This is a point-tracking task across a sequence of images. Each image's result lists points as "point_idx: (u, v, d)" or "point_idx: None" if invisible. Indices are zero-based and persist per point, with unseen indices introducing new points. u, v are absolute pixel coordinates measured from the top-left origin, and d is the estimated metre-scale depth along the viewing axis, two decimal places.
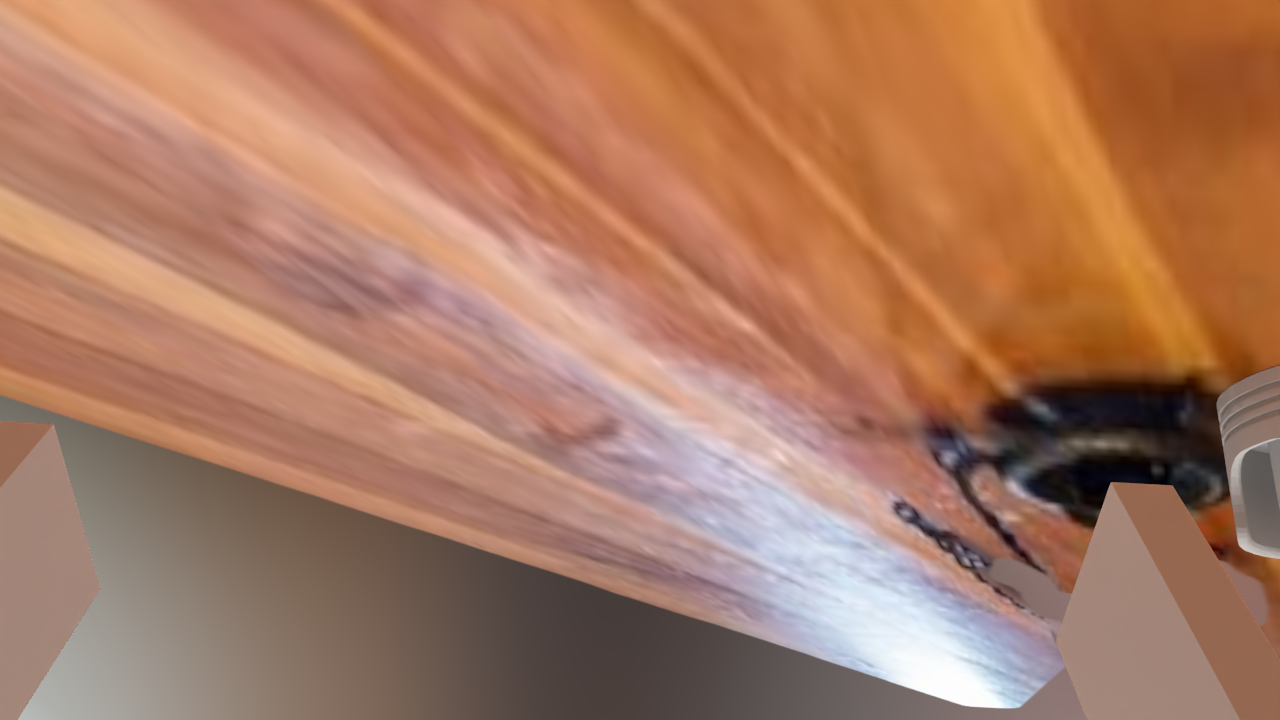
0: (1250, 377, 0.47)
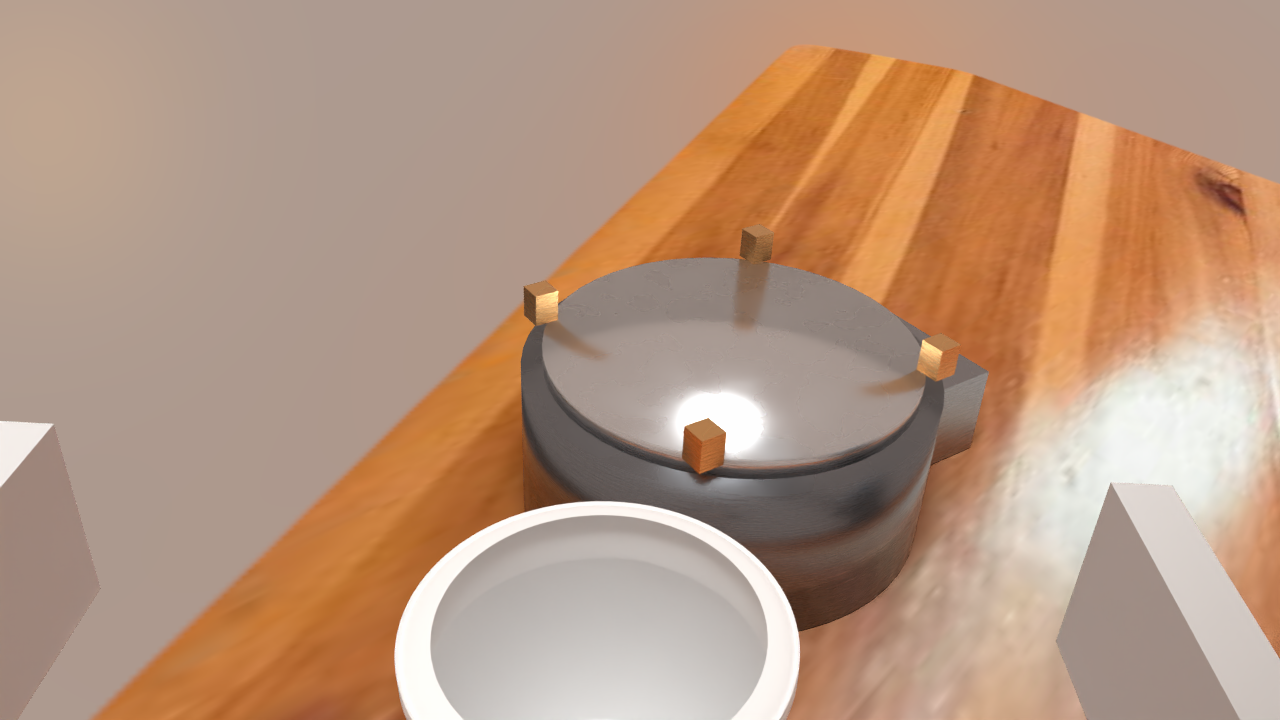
0: None
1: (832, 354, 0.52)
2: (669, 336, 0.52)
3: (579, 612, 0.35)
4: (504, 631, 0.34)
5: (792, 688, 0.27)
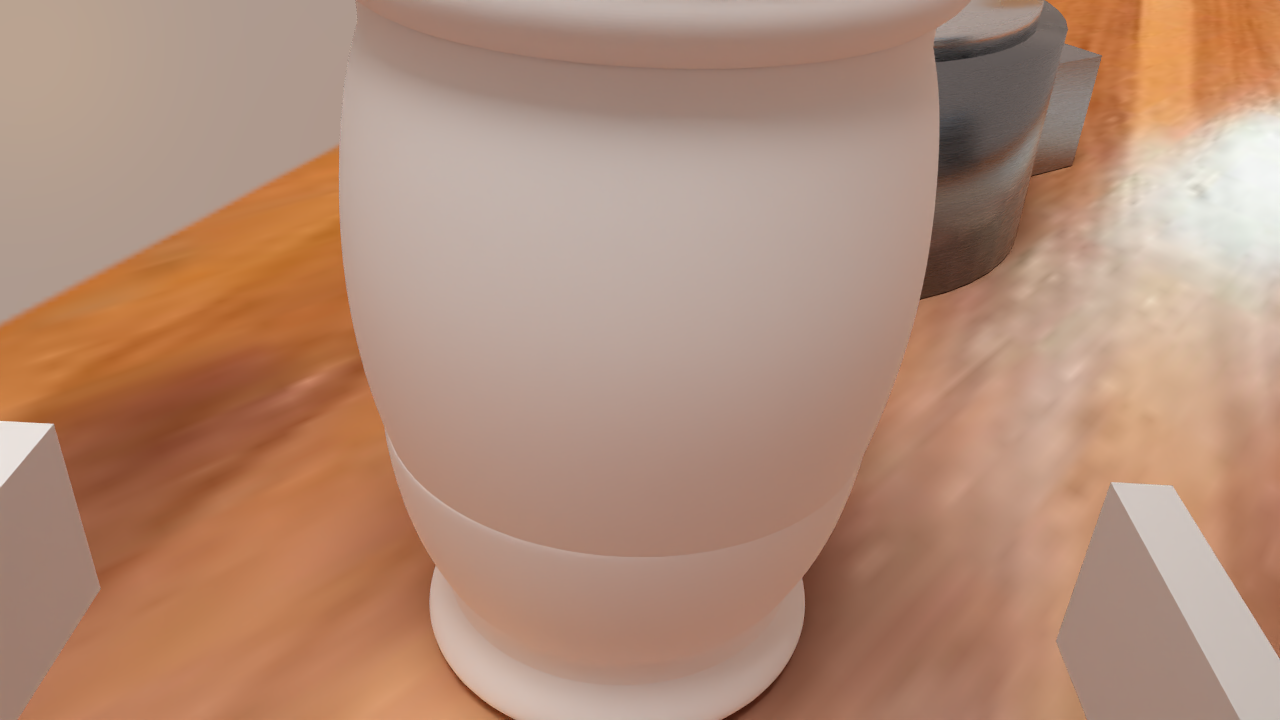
0: None
1: None
2: None
3: None
4: None
5: None
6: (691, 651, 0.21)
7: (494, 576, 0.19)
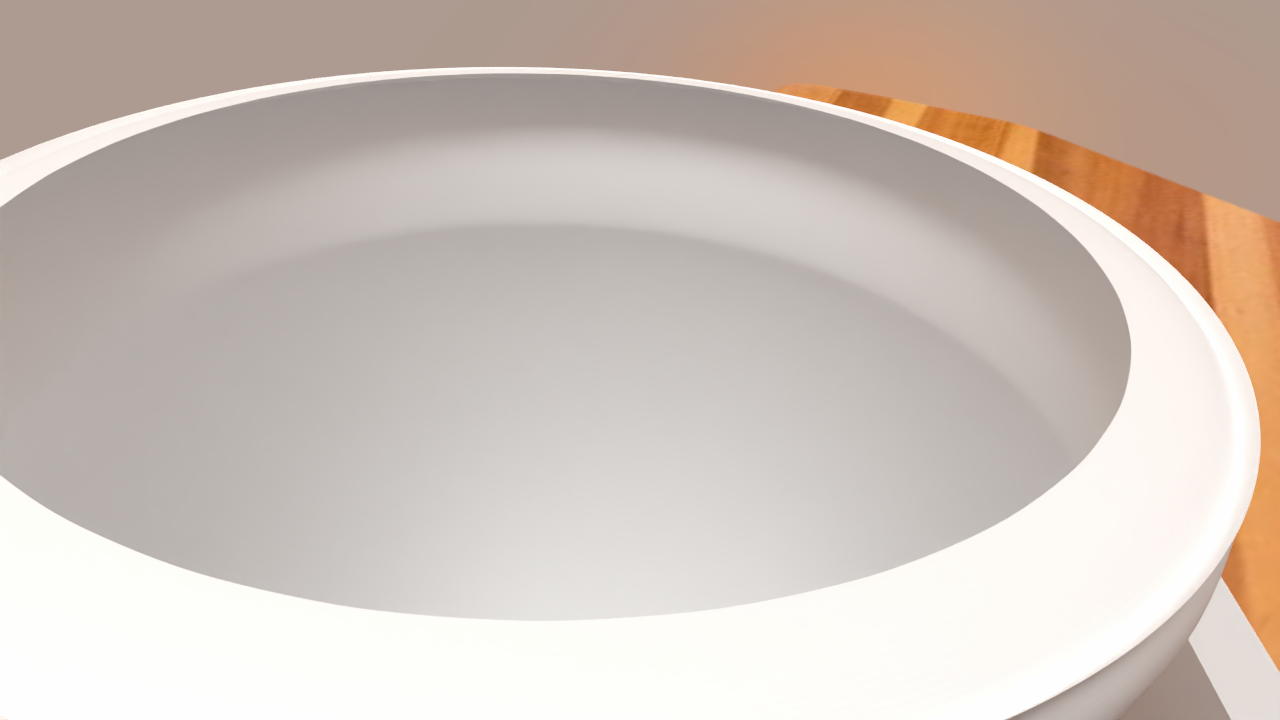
0: None
1: None
2: None
3: (523, 390, 0.16)
4: (343, 413, 0.15)
5: (1242, 400, 0.08)
6: None
7: None
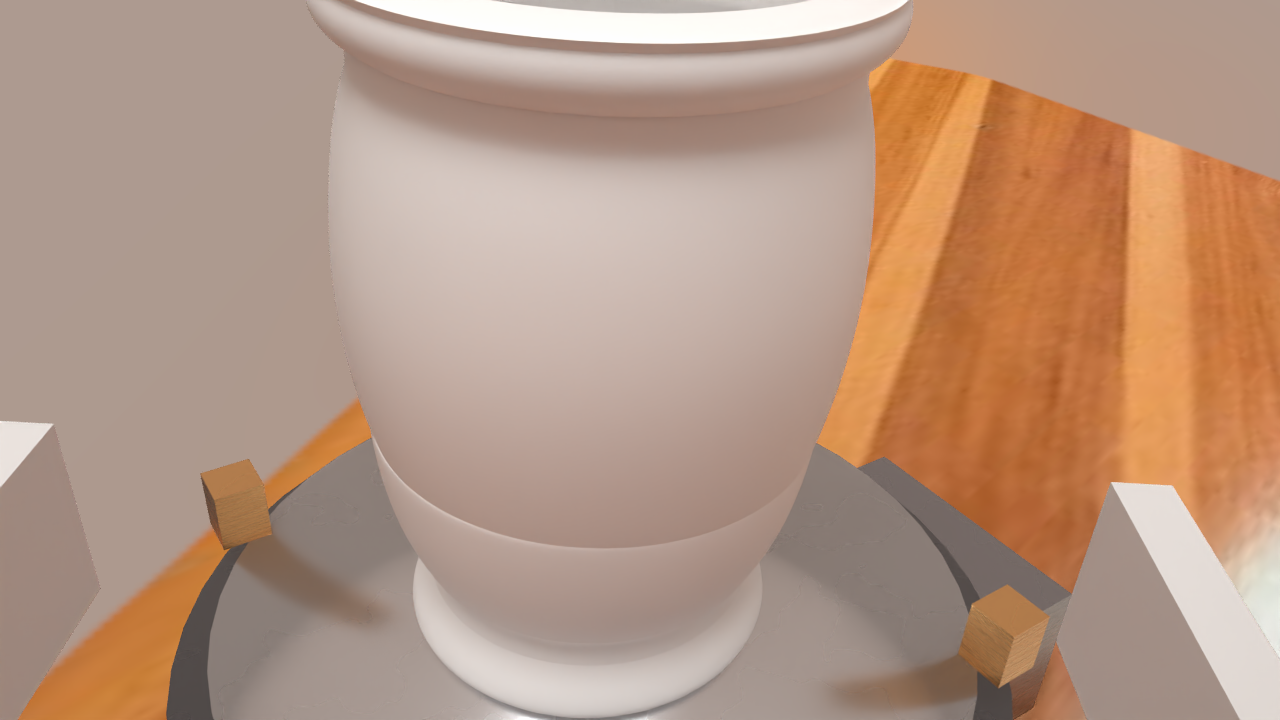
0: None
1: (792, 615, 0.26)
2: None
3: None
4: None
5: None
6: (651, 634, 0.22)
7: (470, 565, 0.21)
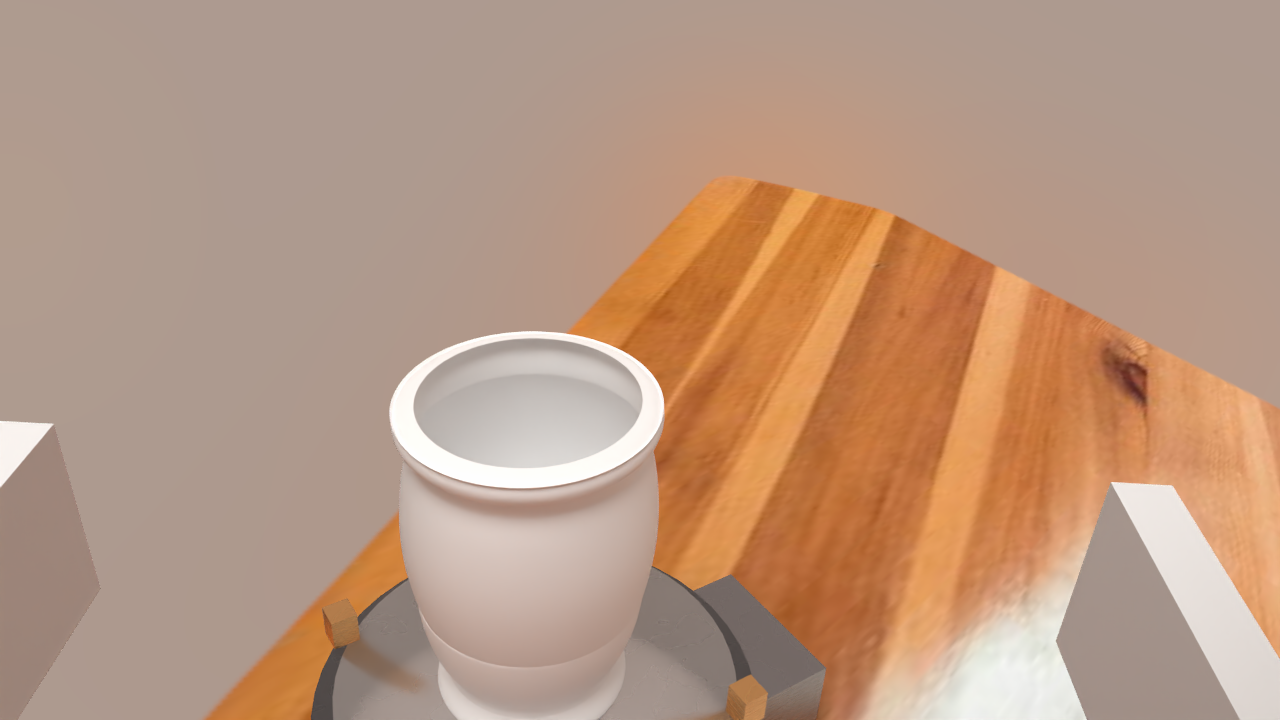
0: None
1: (640, 688, 0.49)
2: None
3: (525, 420, 0.49)
4: (470, 429, 0.48)
5: (654, 434, 0.40)
6: (556, 703, 0.45)
7: (465, 672, 0.44)
